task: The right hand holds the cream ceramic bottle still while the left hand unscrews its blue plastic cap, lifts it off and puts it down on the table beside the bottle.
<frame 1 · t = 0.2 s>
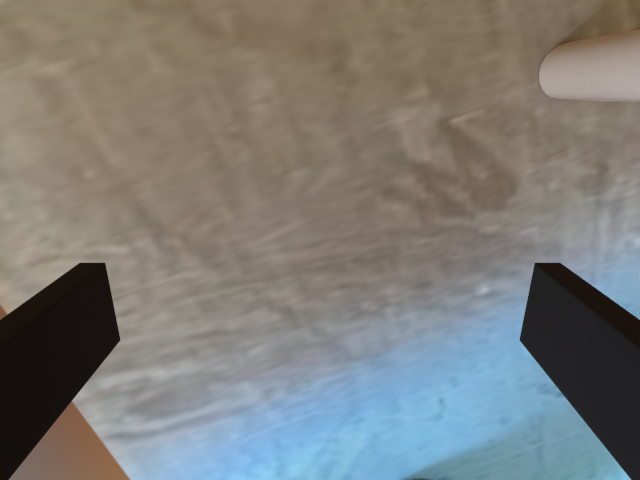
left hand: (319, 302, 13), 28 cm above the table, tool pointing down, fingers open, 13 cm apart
bottle: (565, 71, 36), on the table
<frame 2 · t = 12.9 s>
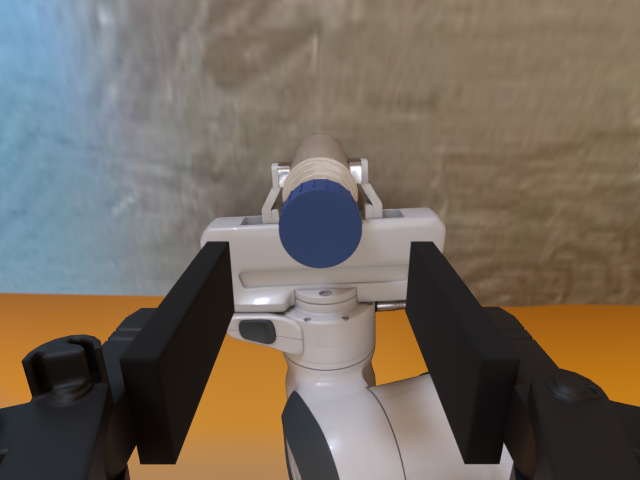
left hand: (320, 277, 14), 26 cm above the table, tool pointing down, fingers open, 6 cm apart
bottle: (319, 159, 39), on the table, touching right hand
cap: (320, 228, 19), point 21 cm above the table, screwed on, not yet turned
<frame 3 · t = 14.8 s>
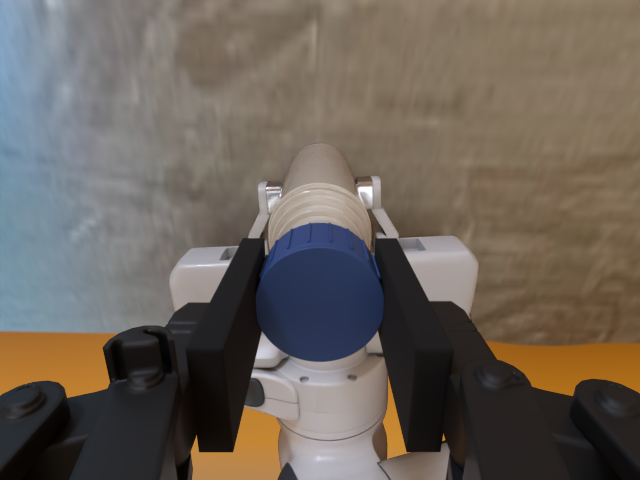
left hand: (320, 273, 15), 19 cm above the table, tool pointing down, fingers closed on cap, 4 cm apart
bottle: (319, 173, 32), on the table, touching right hand
cap: (319, 303, 13), point 21 cm above the table, screwed on, not yet turned, touching left hand
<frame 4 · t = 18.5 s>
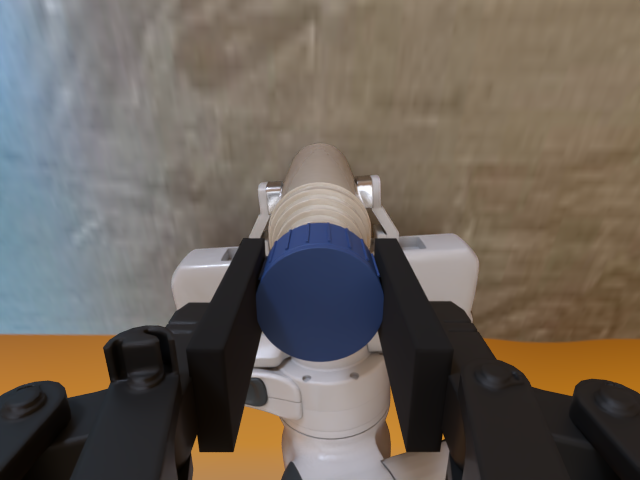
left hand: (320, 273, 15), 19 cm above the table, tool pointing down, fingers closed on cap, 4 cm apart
bottle: (319, 173, 32), on the table, touching right hand
cap: (319, 303, 13), point 21 cm above the table, turned 133° so far, risen 0.1 cm, still on its thread, touching left hand
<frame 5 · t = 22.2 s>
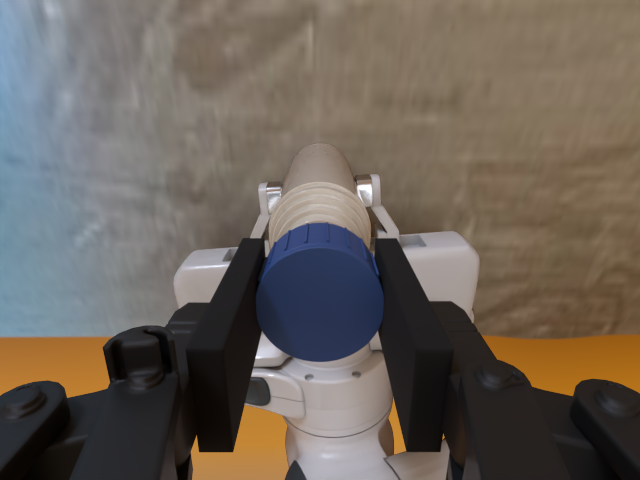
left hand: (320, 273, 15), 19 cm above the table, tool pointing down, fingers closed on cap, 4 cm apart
bottle: (319, 173, 33), on the table, touching right hand
cap: (319, 303, 13), point 21 cm above the table, turned 266° so far, risen 0.2 cm, still on its thread, touching left hand
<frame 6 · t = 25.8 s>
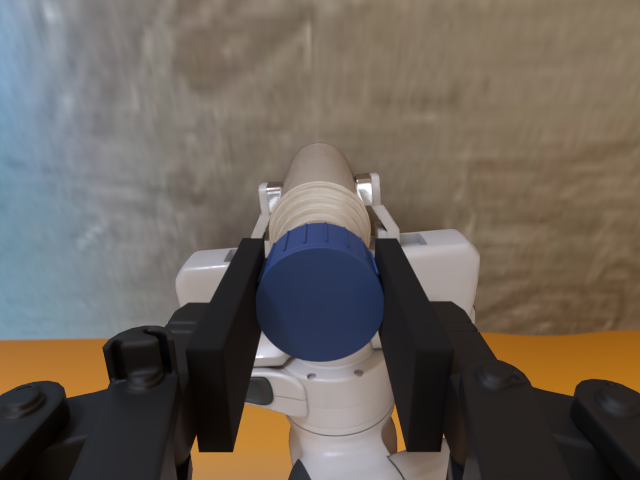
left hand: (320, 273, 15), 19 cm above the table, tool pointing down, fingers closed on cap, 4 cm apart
bottle: (319, 173, 33), on the table, touching right hand
cap: (319, 303, 13), point 21 cm above the table, turned 400° so far, risen 0.3 cm, still on its thread, touching left hand
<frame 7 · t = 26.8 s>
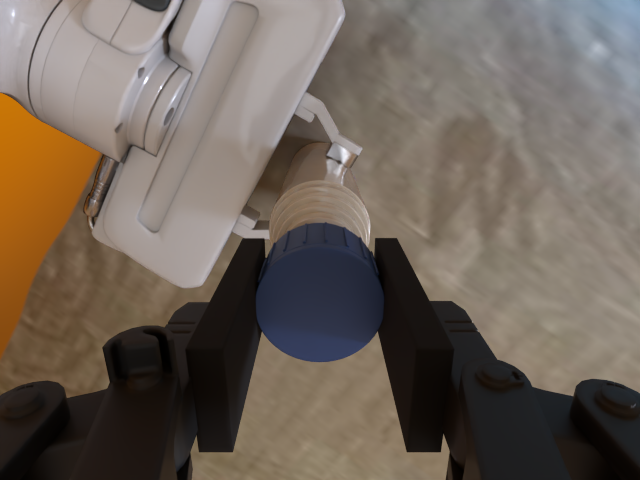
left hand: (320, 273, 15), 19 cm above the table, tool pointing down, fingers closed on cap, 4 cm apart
right hand: (331, 198, 27), fingers closed on bottle, 5 cm apart
bottle: (319, 172, 33), on the table, touching right hand
cap: (319, 303, 13), point 21 cm above the table, off its thread, touching left hand
when the left hand's fingers open (1 cm above the table, at t = 34.2 s): cap drops 1 cm, point 2 cm above the table.
when the right hand's fingers open (7 cm above the table, at t = 35.5 s): bottle stays where it is, on the table.
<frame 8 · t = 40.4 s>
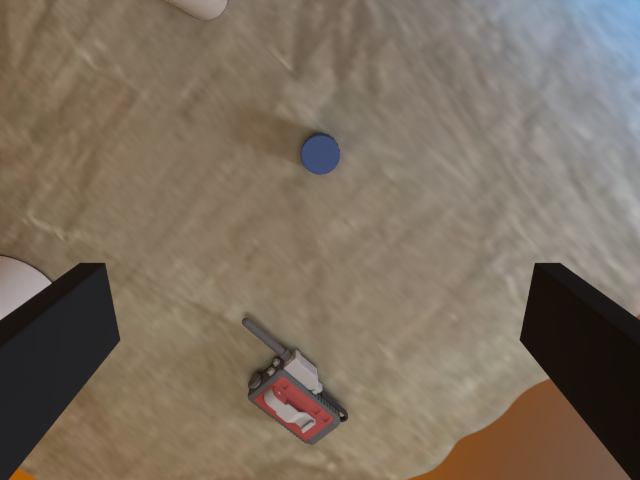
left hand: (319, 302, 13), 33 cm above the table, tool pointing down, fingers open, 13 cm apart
cap: (320, 154, 42), point 2 cm above the table, off its thread
walkie-talkie: (284, 375, 54), on the table
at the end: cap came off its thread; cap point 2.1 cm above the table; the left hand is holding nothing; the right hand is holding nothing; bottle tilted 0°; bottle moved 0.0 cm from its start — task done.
